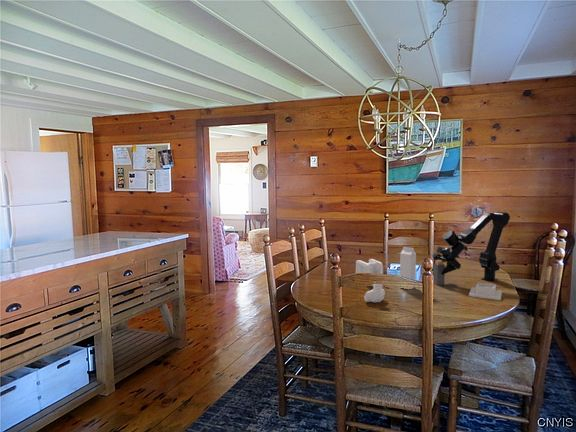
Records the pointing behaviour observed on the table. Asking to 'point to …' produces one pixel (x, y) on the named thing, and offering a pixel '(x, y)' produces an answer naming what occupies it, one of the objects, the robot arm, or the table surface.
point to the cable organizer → (369, 267)
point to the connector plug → (438, 272)
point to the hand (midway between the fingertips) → (436, 272)
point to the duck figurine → (375, 294)
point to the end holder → (485, 291)
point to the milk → (408, 263)
